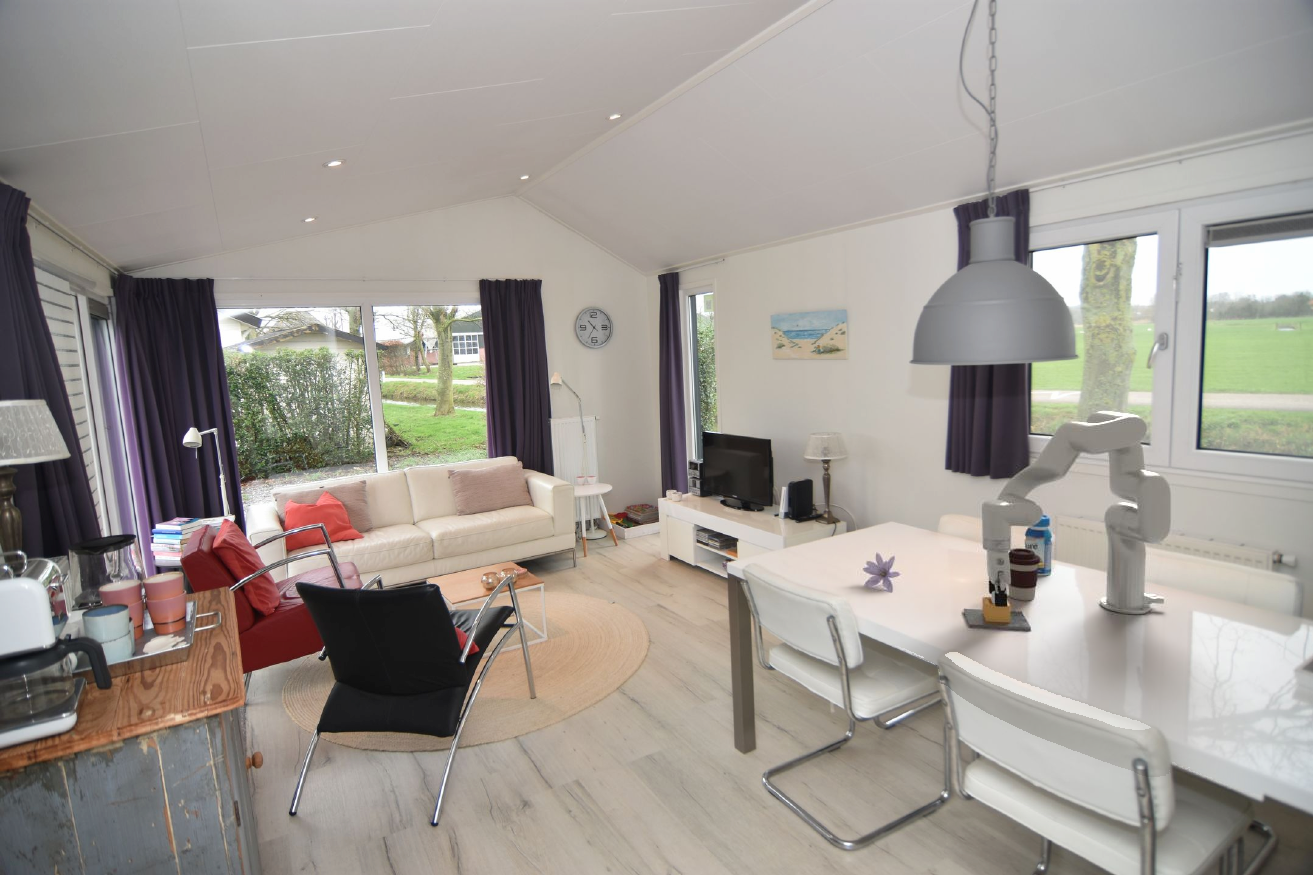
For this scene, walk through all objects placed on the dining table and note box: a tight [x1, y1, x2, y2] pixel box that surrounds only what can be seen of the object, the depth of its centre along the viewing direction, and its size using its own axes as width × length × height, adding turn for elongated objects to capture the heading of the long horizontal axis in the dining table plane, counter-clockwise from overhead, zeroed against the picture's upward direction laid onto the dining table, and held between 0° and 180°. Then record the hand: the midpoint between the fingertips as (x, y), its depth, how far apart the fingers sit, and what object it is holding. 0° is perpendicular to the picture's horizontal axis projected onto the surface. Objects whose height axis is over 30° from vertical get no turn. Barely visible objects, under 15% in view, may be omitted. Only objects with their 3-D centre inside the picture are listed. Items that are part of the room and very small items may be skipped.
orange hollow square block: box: [981, 596, 1011, 622], centre depth 206 cm, size 6×6×5 cm
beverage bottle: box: [1024, 514, 1053, 577], centre depth 243 cm, size 8×8×20 cm
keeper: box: [963, 591, 1032, 632], centre depth 206 cm, size 16×12×9 cm
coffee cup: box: [1007, 547, 1040, 602], centre depth 222 cm, size 10×10×15 cm
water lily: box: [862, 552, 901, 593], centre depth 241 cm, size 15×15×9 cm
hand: (997, 599), depth 206 cm, fingers open, 9 cm apart
